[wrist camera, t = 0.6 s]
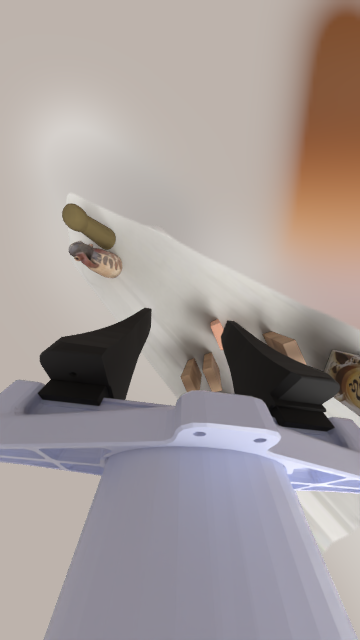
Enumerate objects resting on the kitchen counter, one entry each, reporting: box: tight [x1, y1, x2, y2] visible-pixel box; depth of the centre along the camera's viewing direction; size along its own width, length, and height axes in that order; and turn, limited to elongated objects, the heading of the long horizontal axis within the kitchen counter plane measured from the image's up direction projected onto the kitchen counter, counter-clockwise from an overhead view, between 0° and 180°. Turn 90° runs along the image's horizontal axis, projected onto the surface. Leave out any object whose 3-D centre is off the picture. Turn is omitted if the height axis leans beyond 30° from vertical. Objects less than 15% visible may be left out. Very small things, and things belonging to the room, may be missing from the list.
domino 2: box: [211, 319, 223, 350], centre depth 29 cm, size 5×2×9 cm, turn 24°
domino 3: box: [202, 352, 222, 392], centre depth 30 cm, size 5×2×9 cm, turn 24°
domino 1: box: [181, 358, 202, 392], centre depth 31 cm, size 5×2×9 cm, turn 24°
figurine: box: [69, 241, 122, 278], centre depth 33 cm, size 7×7×12 cm
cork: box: [62, 204, 116, 250], centre depth 33 cm, size 6×6×11 cm
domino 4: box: [263, 331, 307, 365], centre depth 26 cm, size 5×2×9 cm, turn 24°
